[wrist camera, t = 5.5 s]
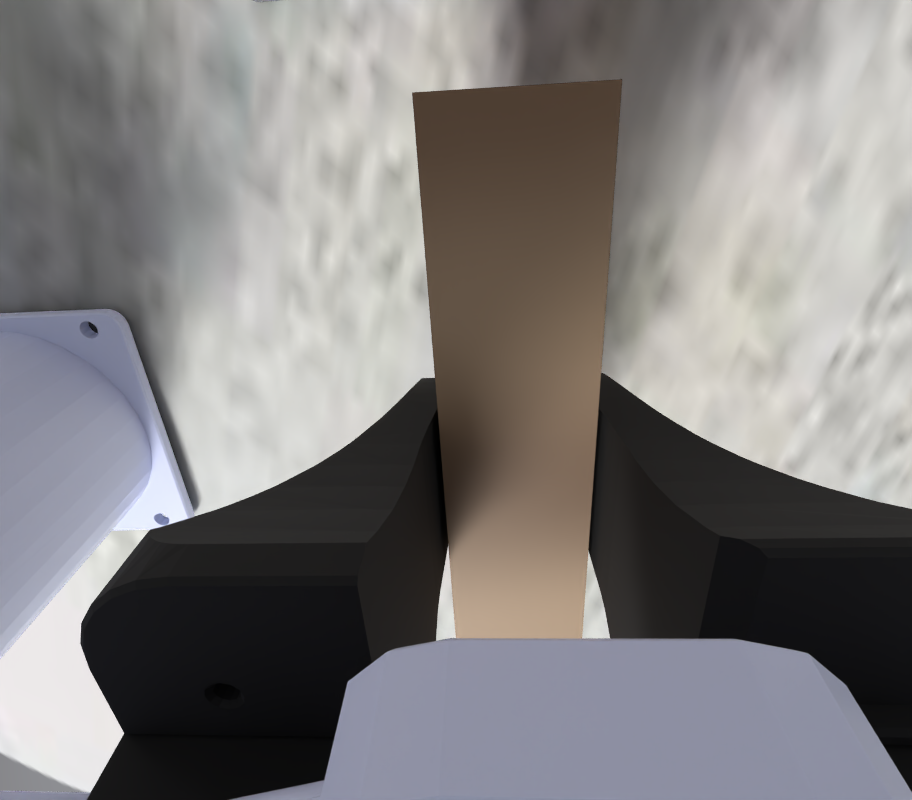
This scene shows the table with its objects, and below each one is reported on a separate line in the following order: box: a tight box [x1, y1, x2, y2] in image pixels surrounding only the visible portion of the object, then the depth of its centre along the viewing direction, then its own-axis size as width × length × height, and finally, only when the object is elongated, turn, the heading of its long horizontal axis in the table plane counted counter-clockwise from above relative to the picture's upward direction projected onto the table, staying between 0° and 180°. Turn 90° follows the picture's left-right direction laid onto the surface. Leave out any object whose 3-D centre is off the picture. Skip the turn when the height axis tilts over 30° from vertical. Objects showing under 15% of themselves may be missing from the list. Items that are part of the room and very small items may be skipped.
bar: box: [412, 79, 622, 639], centre depth 12 cm, size 12×2×5 cm, turn 3°
